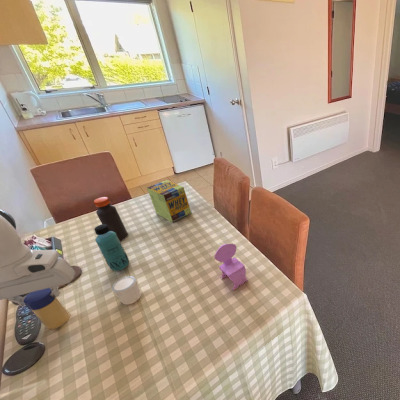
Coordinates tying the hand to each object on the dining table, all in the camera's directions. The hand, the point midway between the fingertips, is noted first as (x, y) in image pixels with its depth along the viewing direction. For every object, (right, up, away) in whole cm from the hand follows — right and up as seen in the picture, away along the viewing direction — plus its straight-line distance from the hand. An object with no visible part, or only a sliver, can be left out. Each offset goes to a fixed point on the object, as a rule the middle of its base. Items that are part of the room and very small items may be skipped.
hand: (41, 299), depth 79 cm
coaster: (-14, 0, +21) cm, 25 cm away
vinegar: (-8, +13, +42) cm, 44 cm away
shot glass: (+18, -4, +13) cm, 22 cm away
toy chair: (+52, 0, +19) cm, 55 cm away
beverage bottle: (+6, +3, +25) cm, 26 cm away
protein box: (+8, +23, +58) cm, 63 cm away
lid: (0, -1, 0) cm, 1 cm away
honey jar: (0, -9, +5) cm, 10 cm away
